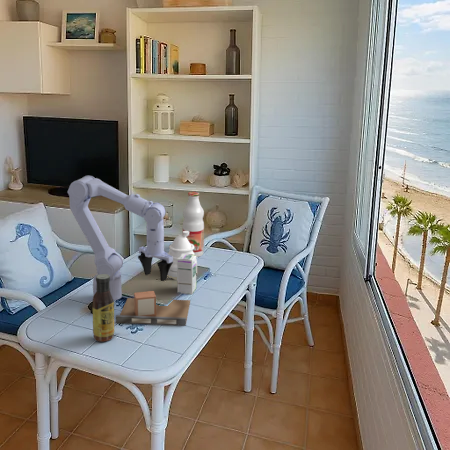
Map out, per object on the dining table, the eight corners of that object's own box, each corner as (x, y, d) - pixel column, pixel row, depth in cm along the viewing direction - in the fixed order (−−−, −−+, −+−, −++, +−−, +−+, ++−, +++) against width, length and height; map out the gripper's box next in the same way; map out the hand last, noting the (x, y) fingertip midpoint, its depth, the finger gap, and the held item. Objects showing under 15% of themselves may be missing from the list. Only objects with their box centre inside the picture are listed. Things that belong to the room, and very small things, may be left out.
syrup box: (192, 297, 178) (193, 260, 174) (176, 295, 179) (176, 258, 175) (196, 291, 183) (197, 254, 179) (181, 289, 184) (181, 252, 180)
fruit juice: (207, 253, 221) (209, 192, 213) (193, 259, 214) (194, 196, 206) (192, 248, 227) (193, 189, 218) (177, 254, 220) (178, 192, 211)
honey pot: (200, 269, 203) (200, 227, 198) (192, 282, 191) (193, 237, 186) (169, 266, 205) (169, 225, 200) (160, 278, 193) (160, 234, 188)
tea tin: (134, 312, 163) (134, 292, 161) (153, 310, 165) (153, 290, 163) (136, 318, 159) (135, 298, 157) (156, 316, 161) (155, 296, 159)
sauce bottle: (103, 345, 145) (101, 283, 140) (88, 338, 149) (85, 277, 143) (119, 335, 151) (117, 275, 145) (104, 330, 154) (102, 270, 148)
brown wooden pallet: (116, 326, 156) (115, 316, 155) (127, 301, 174) (127, 292, 173) (185, 329, 156) (185, 319, 155) (190, 303, 173) (190, 294, 172)
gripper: (131, 237, 167) (132, 274, 171) (162, 247, 158) (162, 286, 162) (146, 232, 172) (147, 269, 176) (177, 242, 164) (177, 280, 168)
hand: (155, 277), depth 170 cm, fingers open, 7 cm apart
